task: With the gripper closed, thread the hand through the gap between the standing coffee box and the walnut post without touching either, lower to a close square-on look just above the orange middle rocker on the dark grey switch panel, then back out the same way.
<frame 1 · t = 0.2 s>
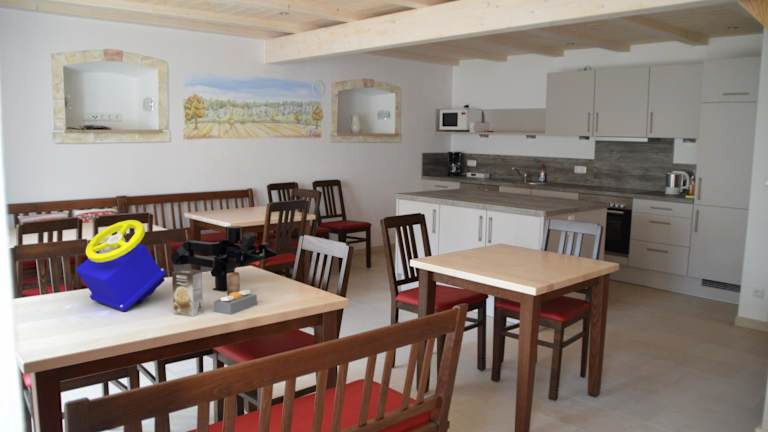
hand: (269, 256, 256), 17 cm above the table, tool horizontal, fingers open, 9 cm apart
coffee box: (188, 313, 235), on the table
wood post: (233, 297, 257), on the table
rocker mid: (235, 295, 241), point 5 cm above the table, hinge at 8.0°
rocker 2: (243, 292, 245), point 5 cm above the table, hinge at -8.0°
rocker 1: (227, 298, 237), point 5 cm above the table, hinge at -8.0°
switch panel: (235, 308, 242), on the table
control box: (126, 306, 245), on the table
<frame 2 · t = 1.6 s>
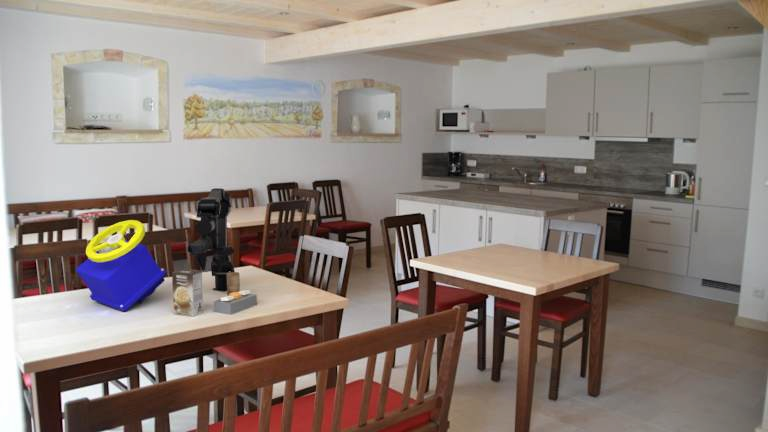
hand: (211, 271, 246), 13 cm above the table, tool pointing down, fingers open, 8 cm apart
nothing on the table moved.
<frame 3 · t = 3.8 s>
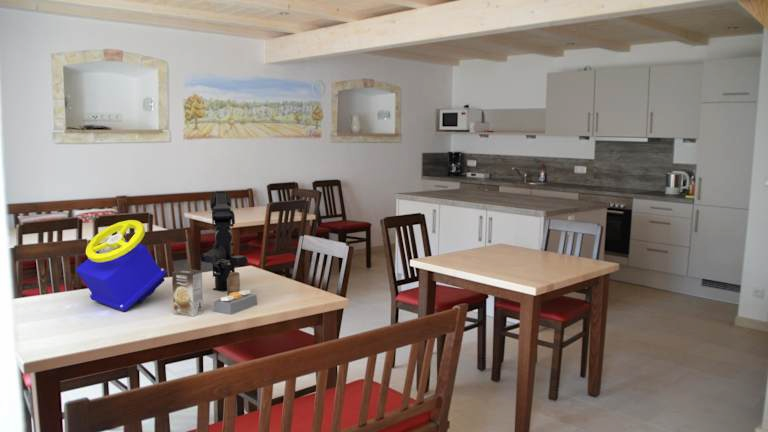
hand: (224, 280, 243), 10 cm above the table, tool pointing down, fingers closed
nothing on the table moved.
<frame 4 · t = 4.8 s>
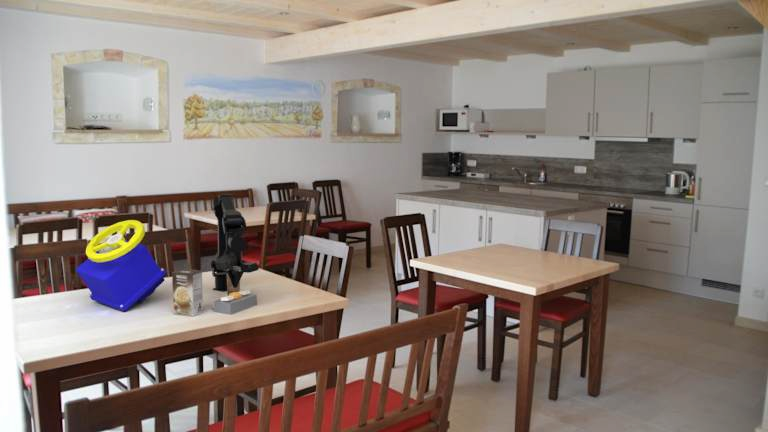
hand: (235, 287, 241), 8 cm above the table, tool pointing down, fingers closed
nothing on the table moved.
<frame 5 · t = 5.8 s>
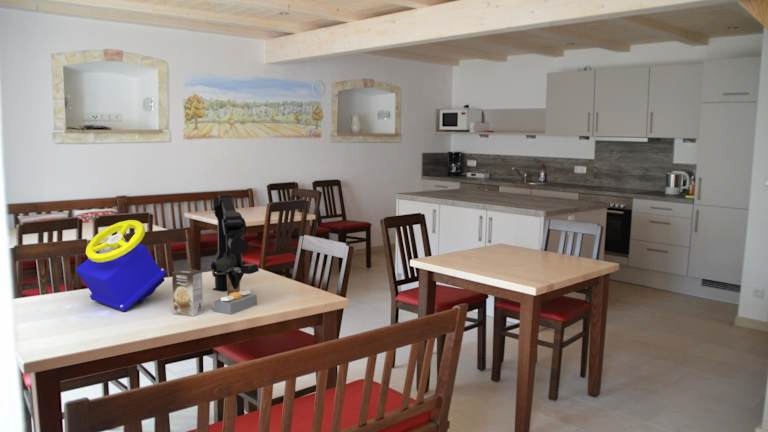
hand: (235, 288, 241), 8 cm above the table, tool pointing down, fingers closed
nothing on the table moved.
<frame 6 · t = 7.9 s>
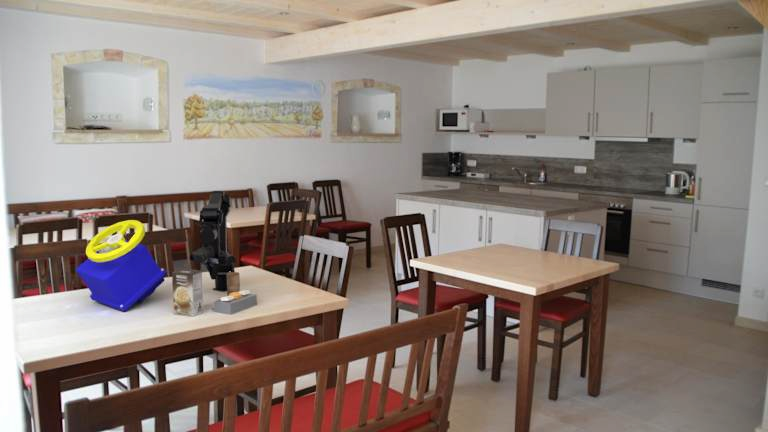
hand: (213, 279, 246), 10 cm above the table, tool pointing down, fingers closed
nothing on the table moved.
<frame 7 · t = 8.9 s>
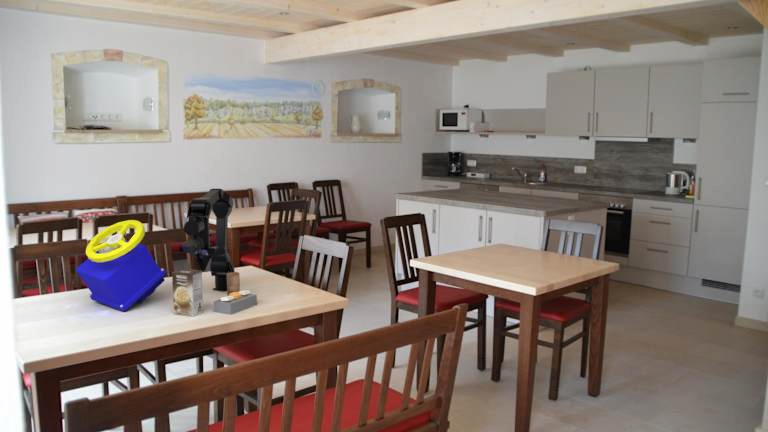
hand: (203, 271, 246), 13 cm above the table, tool pointing down, fingers closed
nothing on the table moved.
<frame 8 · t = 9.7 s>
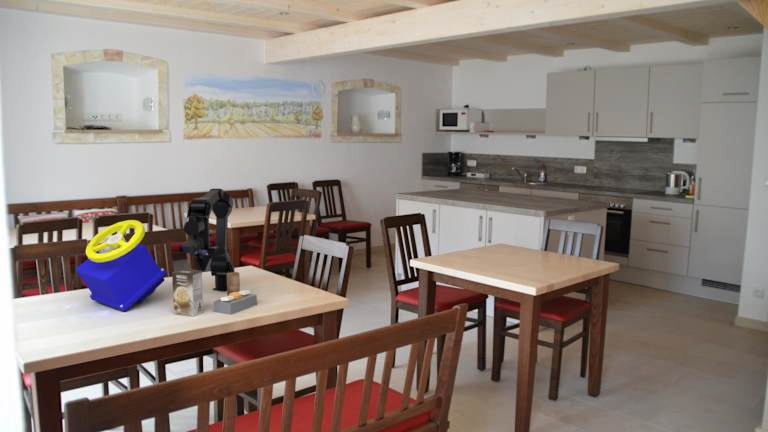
hand: (203, 271, 246), 13 cm above the table, tool pointing down, fingers closed
nothing on the table moved.
at the end: coffee box moved 0.2 cm from its start; wood post moved 0.0 cm from its start; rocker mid at +8° (first picture: +8°) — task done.
